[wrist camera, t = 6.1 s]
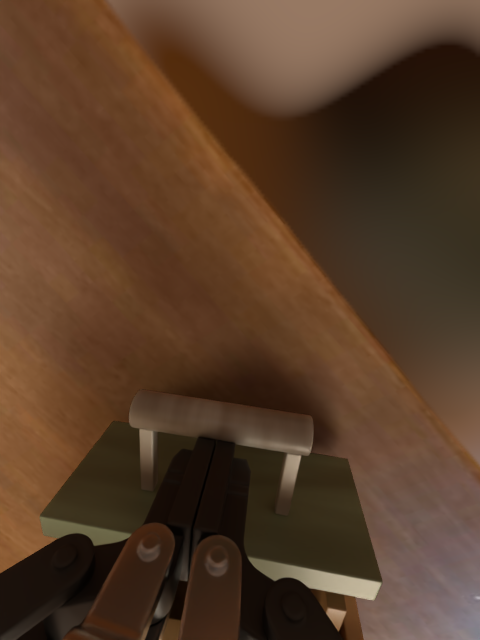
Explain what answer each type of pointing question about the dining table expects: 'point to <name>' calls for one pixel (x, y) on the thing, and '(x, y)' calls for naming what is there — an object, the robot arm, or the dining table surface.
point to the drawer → (263, 499)
